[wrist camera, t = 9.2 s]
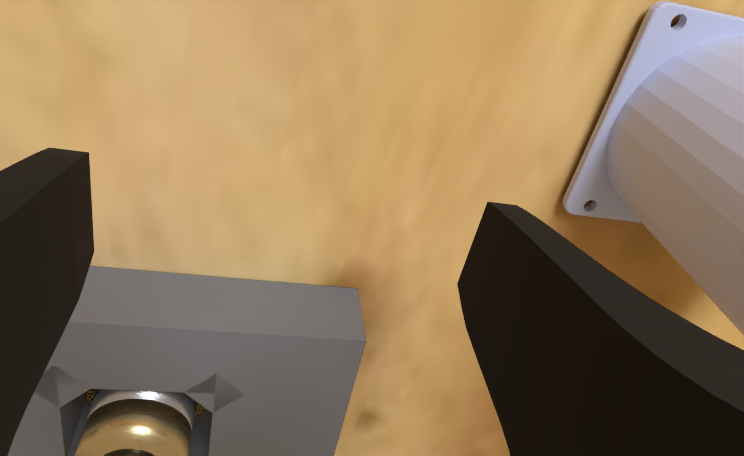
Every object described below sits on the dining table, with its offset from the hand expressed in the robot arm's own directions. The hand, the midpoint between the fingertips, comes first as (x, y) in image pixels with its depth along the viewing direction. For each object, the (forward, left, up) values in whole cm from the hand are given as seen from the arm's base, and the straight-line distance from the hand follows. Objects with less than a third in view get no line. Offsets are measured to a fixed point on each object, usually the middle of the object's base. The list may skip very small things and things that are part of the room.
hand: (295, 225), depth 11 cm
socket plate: (+4, +15, -9) cm, 18 cm away
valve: (+4, +15, -10) cm, 18 cm away
